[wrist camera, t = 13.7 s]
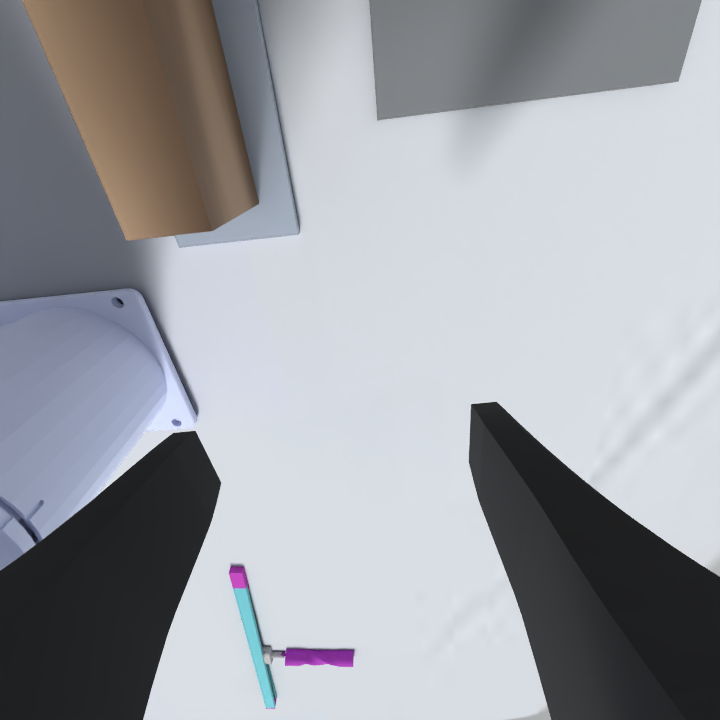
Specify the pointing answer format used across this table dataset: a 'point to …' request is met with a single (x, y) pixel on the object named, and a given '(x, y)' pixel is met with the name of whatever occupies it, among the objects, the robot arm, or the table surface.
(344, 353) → the table surface
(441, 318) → the table surface
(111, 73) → the wooden plank
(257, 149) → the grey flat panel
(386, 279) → the table surface
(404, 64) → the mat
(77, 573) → the robot arm
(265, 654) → the squeegee
